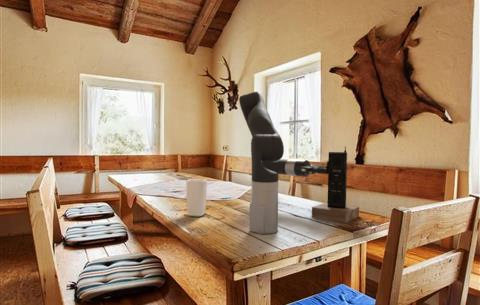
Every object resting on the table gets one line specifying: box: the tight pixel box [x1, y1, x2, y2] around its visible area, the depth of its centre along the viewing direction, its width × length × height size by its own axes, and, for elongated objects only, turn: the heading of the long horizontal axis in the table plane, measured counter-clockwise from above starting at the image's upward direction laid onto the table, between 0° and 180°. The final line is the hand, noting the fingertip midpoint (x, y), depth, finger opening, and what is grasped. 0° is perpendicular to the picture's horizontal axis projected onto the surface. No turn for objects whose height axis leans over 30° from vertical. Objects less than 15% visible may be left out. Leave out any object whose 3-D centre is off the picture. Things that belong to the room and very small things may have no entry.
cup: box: [185, 178, 208, 218], centre depth 123 cm, size 7×7×15 cm
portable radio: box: [325, 145, 348, 209], centre depth 123 cm, size 8×6×25 cm
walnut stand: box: [311, 201, 360, 224], centre depth 123 cm, size 14×14×4 cm
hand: (331, 170), depth 124 cm, fingers open, 8 cm apart
